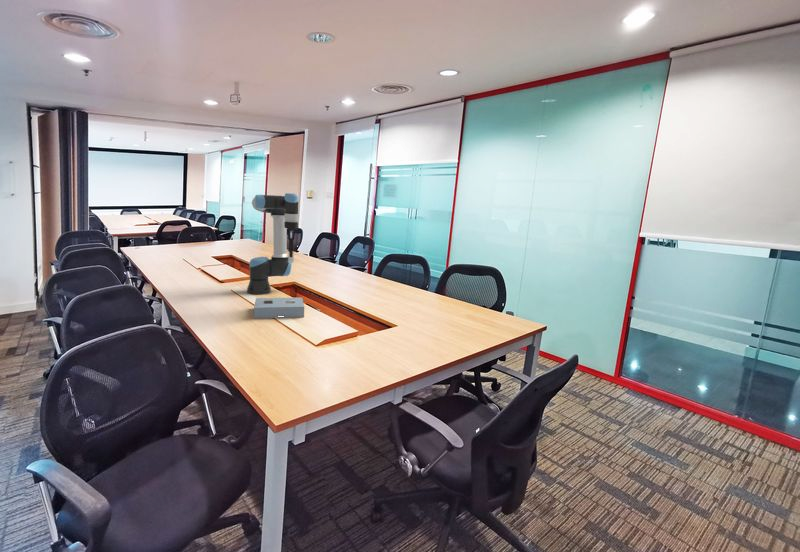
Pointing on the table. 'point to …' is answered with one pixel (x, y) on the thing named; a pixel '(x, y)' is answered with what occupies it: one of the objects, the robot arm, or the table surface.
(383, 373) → the table surface
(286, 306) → the socket block
